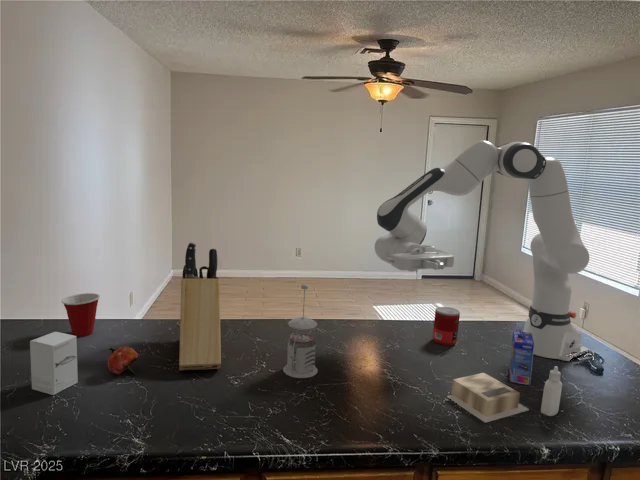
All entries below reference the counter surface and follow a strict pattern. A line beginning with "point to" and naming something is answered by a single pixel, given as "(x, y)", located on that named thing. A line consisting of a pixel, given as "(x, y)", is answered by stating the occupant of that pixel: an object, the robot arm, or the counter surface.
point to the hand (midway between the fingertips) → (440, 266)
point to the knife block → (200, 315)
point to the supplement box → (53, 362)
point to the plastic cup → (81, 312)
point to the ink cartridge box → (521, 357)
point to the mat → (491, 417)
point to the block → (485, 394)
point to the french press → (301, 348)
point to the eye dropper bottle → (552, 393)
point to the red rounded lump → (121, 359)
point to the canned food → (446, 325)
